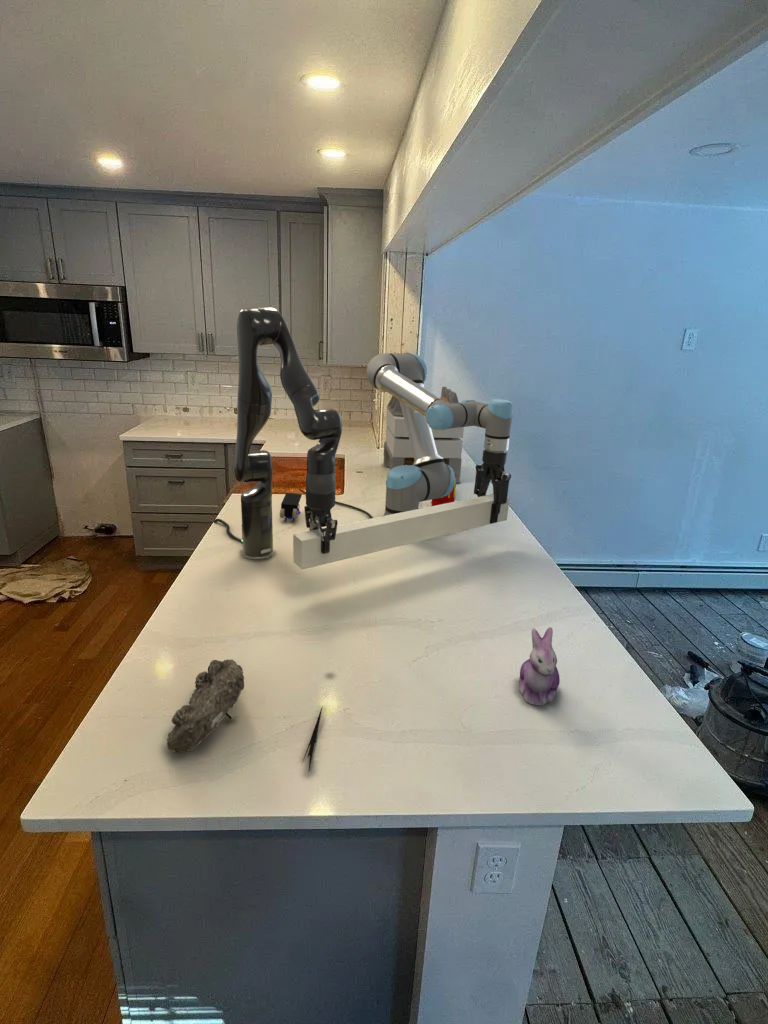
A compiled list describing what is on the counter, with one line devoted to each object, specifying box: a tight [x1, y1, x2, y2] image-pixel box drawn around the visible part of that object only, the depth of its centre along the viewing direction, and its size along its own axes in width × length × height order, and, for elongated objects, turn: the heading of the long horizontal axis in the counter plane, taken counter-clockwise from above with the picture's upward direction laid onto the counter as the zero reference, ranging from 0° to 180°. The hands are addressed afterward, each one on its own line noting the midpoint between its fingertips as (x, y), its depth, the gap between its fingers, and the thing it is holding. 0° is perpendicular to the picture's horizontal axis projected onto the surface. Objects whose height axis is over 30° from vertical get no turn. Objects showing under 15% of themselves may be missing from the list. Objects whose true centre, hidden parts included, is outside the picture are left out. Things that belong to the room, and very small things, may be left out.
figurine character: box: [279, 492, 302, 523], centre depth 209 cm, size 7×8×15 cm
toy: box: [431, 474, 457, 506], centre depth 240 cm, size 12×13×30 cm
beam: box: [292, 493, 511, 571], centre depth 167 cm, size 75×5×8 cm, turn 125°
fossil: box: [166, 658, 245, 754], centre depth 106 cm, size 22×10×15 cm
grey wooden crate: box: [383, 386, 465, 484], centre depth 268 cm, size 34×33×41 cm
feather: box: [301, 673, 332, 771], centre depth 108 cm, size 2×28×2 cm
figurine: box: [518, 626, 561, 706], centre depth 117 cm, size 9×10×15 cm
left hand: (320, 548), depth 150 cm, fingers closed on beam, 5 cm apart
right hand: (487, 519), depth 185 cm, fingers closed on beam, 5 cm apart
